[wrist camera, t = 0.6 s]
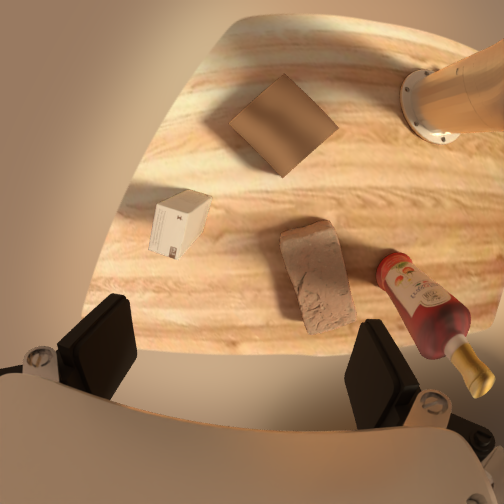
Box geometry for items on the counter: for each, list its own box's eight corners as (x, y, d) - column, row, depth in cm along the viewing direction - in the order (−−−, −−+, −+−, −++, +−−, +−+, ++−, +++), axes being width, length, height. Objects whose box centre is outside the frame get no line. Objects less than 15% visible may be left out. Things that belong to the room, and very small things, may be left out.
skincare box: (187, 188, 41) (153, 200, 29) (215, 196, 41) (189, 211, 30) (178, 226, 43) (144, 249, 32) (204, 234, 43) (178, 261, 32)
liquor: (375, 295, 43) (445, 425, 17) (369, 255, 41) (458, 376, 15) (413, 282, 42) (502, 394, 16) (409, 243, 40) (520, 340, 14)
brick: (276, 233, 42) (276, 242, 38) (329, 216, 40) (335, 224, 36) (306, 322, 47) (308, 338, 42) (353, 308, 45) (359, 323, 41)
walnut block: (284, 83, 35) (284, 73, 30) (332, 131, 36) (339, 128, 32) (234, 127, 38) (228, 123, 33) (282, 176, 39) (282, 178, 35)
